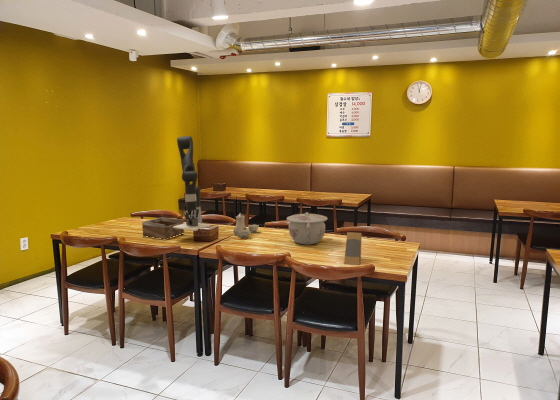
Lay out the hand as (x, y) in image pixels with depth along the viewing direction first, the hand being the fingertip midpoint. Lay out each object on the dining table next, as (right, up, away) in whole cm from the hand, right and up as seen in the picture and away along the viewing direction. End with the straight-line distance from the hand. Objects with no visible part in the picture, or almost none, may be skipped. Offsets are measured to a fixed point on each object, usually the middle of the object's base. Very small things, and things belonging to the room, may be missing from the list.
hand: (192, 224), depth 286 cm
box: (-24, -9, +15) cm, 30 cm away
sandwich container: (+103, -18, -51) cm, 116 cm away
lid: (0, -2, 0) cm, 2 cm away
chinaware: (+35, -9, +15) cm, 39 cm away
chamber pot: (+79, -12, -9) cm, 81 cm away
